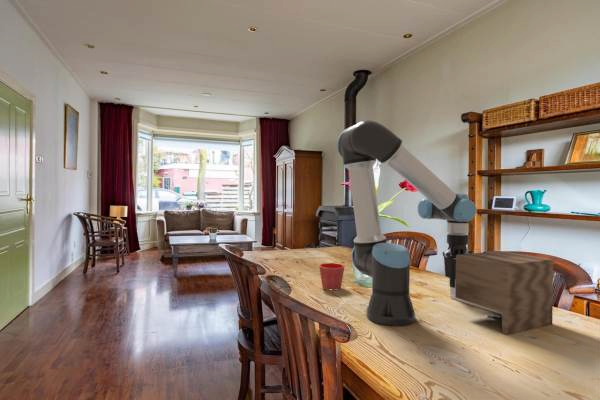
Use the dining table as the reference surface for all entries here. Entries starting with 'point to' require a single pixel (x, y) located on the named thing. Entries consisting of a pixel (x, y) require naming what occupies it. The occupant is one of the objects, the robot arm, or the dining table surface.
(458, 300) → the scraper
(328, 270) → the flower pot
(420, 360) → the dining table surface
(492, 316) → the steel disc
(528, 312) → the walnut cabinet
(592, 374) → the dining table surface
